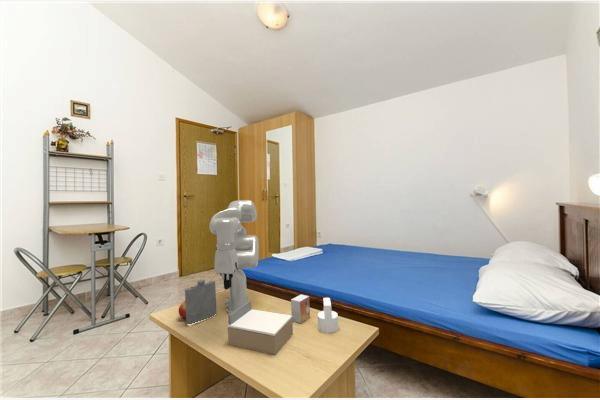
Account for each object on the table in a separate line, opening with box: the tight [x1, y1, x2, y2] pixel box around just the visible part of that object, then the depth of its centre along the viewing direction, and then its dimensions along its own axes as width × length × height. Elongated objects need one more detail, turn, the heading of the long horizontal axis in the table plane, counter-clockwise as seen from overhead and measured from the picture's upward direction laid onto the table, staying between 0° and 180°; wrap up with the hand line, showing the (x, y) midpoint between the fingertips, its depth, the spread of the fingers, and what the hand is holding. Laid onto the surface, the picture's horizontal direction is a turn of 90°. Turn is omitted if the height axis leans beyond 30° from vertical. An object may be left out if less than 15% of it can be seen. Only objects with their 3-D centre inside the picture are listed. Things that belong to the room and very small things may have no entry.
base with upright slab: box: [317, 297, 339, 334], centre depth 119 cm, size 9×9×12 cm
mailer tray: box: [227, 318, 294, 355], centre depth 112 cm, size 22×16×7 cm
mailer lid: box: [227, 300, 292, 336], centre depth 112 cm, size 22×16×5 cm
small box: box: [290, 293, 311, 324], centre depth 129 cm, size 8×6×10 cm
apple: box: [178, 301, 186, 319], centre depth 135 cm, size 8×8×10 cm
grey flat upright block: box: [184, 279, 218, 325], centre depth 132 cm, size 16×4×20 cm, turn 140°
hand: (227, 287), depth 118 cm, fingers closed
